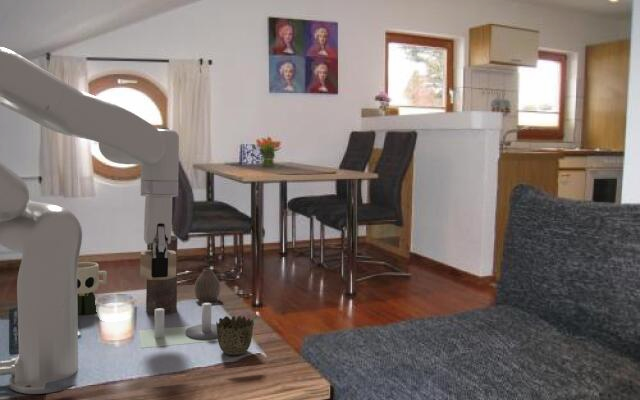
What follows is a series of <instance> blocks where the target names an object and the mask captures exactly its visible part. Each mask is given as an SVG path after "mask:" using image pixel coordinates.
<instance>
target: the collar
mask: <svg viewBox="0 0 640 400" xmlns="http://www.w3.org/2000/svg"><path fill="white" fill-rule="evenodd" d="M167 257H168V276H167V277H156V278H153V277H152V276H151V267H152V258H153V250H147V249H146V250H142V251H140V268H139V269H140V279H142V280H147V279H149V280H166V279H170V278H174V277H176V252H175V251H172V250H167Z"/></svg>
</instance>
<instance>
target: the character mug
mask: <svg viewBox="0 0 640 400" xmlns="http://www.w3.org/2000/svg"><path fill="white" fill-rule="evenodd" d="M99 267H100V265H99V264H98V263H97V262H94V261H93V262H91V261H82V262H79V261H78V269H77V302H78V317H79V316H91V315H97V314H98V311H97V312H96V306H97V304H96V305H95V300H96V296H95V293H94V292H96V291H97V290H98V288H99V286H100V285H106V284H108V272H107V270H99V269H100V268H99ZM100 276H102V280H100V278H99V277H100Z"/></svg>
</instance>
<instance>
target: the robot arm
mask: <svg viewBox="0 0 640 400" xmlns="http://www.w3.org/2000/svg"><path fill="white" fill-rule="evenodd" d="M0 105H2V107H5V108H7V109H9V110H11V111H14V112H15V113H17V114H19V115H21V116H23V117H25V118H27V119H29V120H31V121H33V122H35V123H37V124H39V125H41V126H43V127H44V128H47V130H50V131H53V132H55V133H58V134H62V135H64V136H68V137H75V138H80V139H84V140H85V139H86V140H89V141H93V142H95V143H96V142H97V143H98V149H99V152H100V153H101V155H102V157H104V158H105V159H106V160H108V161H109V162H112V163H113V164H121V165H122V164H123V165H137V166H140V196H141V197H145V201H144V218H143V219H144V222H143V225H144V227H143V230H144V231H143V241H144V243H145V244H146V246H147V245H149V243H150V250H153V258H152V267H151V276H152V277H153V278H156V277H167V276H168V257H167V245H168V244H169V243H170V242H171V235H172V225H173V198H174V197H175V198H176V197H179V172H180V171H179V168H180V167H179V166H180V165H179V161H180V160H179V159H180V158H179V157H180V136H179V134H178V132H177V131H176V130H172V129H165V128H164V129H162V128H157V127H156V126H155V125H153V124H152V123H150V122H148V121H147V120H146V119H143V118H142V117H140V116H139V115H137V114H135V113H134V112H132V111H130V110H127V109H126V108H123V107H122V106H119V105H117V104H115V103H112V102H110V101H107V100H104V99H102V98H100V97H97V96H95V95H92V94H90V93H88V92H86V91H83V90H80V89H78V88H76V87H74V86H73V85H70V84H69V83H67V82H66V81H64V80H62V79H61V78H59V77H57V76H56V75H54V74H53V73H51V72H49V71H47V70H46V69H44V68H42V67H40V66H39V65H37V64H35V63H34V62H32V61H30V59H27V58H25V57H24V56H22V55H21V54H19V53H17V52H16V51H14V50H11V49H8V48H6V47H3V46H0ZM82 240H83V231H82V225H81V223H80V221H79V219H78V217H77V216H76V214H74V213H73V212H72V211H71V210H69V209H67V208H66V207H63V206H60V205H56V204H52V203H47V202H38V201H33V200H31V199H30V192H29V188H28V186H27V184H26V182H25V181H24V180H23V178H22V177H21V176H20V175H18V173H16V172H15V170H12V169H11V168H9V166H7V165H5V164H4V163H3V162H1V161H0V245H1V246H2V247H4V248H6V249H8V250H11V251H13V252H16V253H20V254H22V256H21V257H22V258H21V262H20V265H19V270H18V273H17V274H18V275H17V279H16V280H17V283H16V291H17V292H16V295H17V298H16V299H17V328H18V329H17V330H18V331H17V332H18V355H17V357H12V358H11V360H10V359H8V360H0V377H1V376H5V375H6V376H7V375H10V376H9V381H8V383H9V384H8V386H9V388H10V389H11V390H13V391H15V392H17V393H20V394H27V395H41V394H51V393H56V392H61V391H64V390H68V389H70V388H74V387H75V386H76V384H71V385H70V384H69V385H64V386H63V385H61V386H52V387H46V386H47V383H53V382H58V381H63V380H65V379H67V378H69V377H72V376H73V375H75V374H76V373H78V370H79V333H78V332H79V331H78V330H79V329H78V328H79V325H78V324H79V319H78V317H79V316H78V302H77V269H78V262H79V260H80V259H79V258H80V252H81V246H82V244H83V243H82V242H83V241H82Z"/></svg>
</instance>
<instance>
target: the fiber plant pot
mask: <svg viewBox="0 0 640 400" xmlns="http://www.w3.org/2000/svg"><path fill="white" fill-rule="evenodd" d="M218 321H219V322H218ZM218 321H216V322H215V324H216V325H217V335H218V341H217V342H218V346H219V348H220V350H221V351H222V352H223V353H225V354H227V355H228V356H232V357H234V356H240V355H243V354H244V353H245V352H247V351H248V350H249V349H250V346H251V343H252V338H253V332H254V331H253V330H254V324H255V323H254V319H253V318H252V319H251V318H250V317H248V318H247V319H246V316H241V315H239V316H238V317H237V318H236V317H235V315H233V316H232V317H231V318H230V317H229V316H228V315H226V316H224V317H223V318H221V317H220V318H219V320H218Z"/></svg>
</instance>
